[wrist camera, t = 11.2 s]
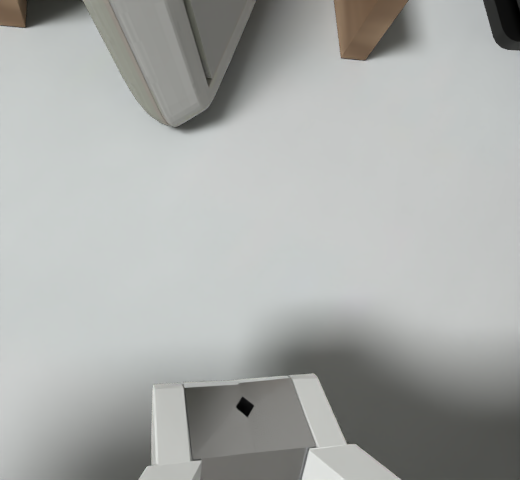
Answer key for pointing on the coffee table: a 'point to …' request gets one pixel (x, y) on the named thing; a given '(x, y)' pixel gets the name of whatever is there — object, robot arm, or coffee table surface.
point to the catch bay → (347, 16)
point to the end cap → (504, 22)
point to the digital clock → (171, 49)
